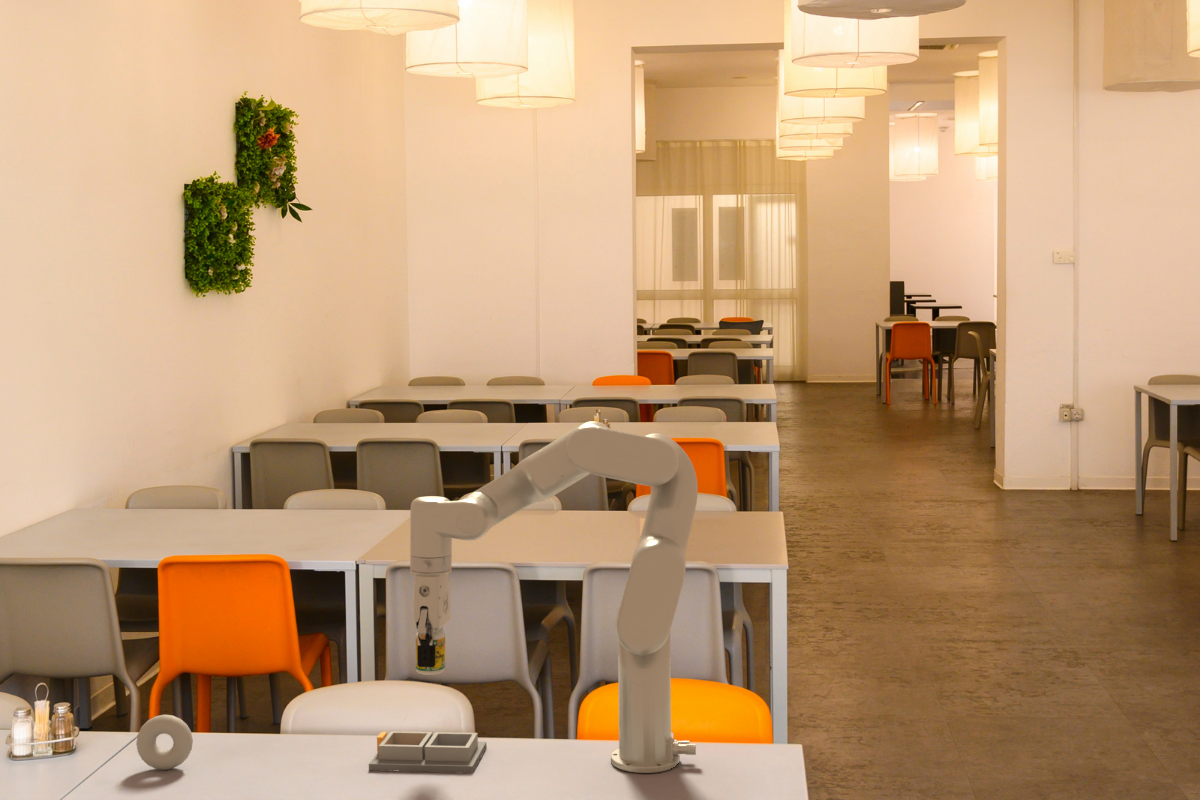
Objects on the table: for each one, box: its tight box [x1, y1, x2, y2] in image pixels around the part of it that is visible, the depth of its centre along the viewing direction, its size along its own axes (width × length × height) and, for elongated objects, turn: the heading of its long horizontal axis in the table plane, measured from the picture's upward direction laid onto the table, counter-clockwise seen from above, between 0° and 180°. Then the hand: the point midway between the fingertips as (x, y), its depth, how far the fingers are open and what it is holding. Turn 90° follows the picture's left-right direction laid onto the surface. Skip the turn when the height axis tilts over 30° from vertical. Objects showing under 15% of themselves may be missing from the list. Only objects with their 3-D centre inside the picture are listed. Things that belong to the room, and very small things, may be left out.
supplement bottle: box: [415, 625, 446, 676], centre depth 217 cm, size 5×5×10 cm
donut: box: [135, 714, 194, 771], centre depth 214 cm, size 10×4×10 cm, turn 92°
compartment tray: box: [368, 730, 487, 774], centre depth 218 cm, size 19×13×4 cm
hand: (430, 660), depth 217 cm, fingers closed on supplement bottle, 5 cm apart
